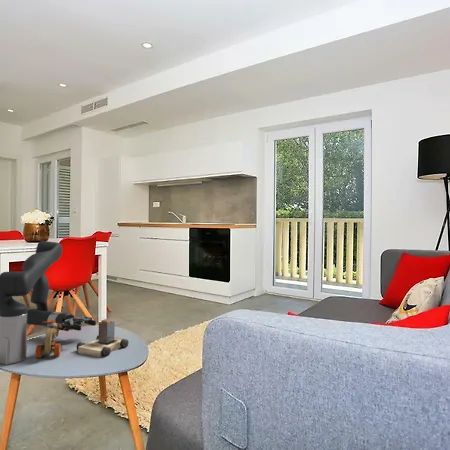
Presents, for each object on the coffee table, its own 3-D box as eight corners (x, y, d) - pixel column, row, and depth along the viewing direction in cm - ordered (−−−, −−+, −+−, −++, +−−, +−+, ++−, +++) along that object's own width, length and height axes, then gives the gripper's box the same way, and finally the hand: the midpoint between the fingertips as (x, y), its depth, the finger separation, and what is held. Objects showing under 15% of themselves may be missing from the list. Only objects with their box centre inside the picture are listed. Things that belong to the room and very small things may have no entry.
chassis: (103, 358, 137) (103, 349, 137) (74, 352, 143) (74, 344, 143) (129, 345, 151) (129, 338, 151) (102, 340, 157) (103, 333, 157)
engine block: (106, 348, 146) (107, 321, 146) (98, 346, 148) (98, 320, 148) (114, 345, 150) (114, 319, 150) (105, 343, 152) (106, 318, 152)
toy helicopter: (34, 361, 132) (34, 324, 132) (45, 343, 152) (45, 311, 152) (58, 359, 135) (58, 322, 135) (66, 342, 155) (66, 310, 155)
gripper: (47, 316, 153) (75, 320, 146) (73, 309, 166) (100, 313, 159) (47, 333, 153) (75, 338, 146) (73, 325, 166) (100, 329, 159)
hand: (88, 325), depth 153 cm, fingers open, 8 cm apart
